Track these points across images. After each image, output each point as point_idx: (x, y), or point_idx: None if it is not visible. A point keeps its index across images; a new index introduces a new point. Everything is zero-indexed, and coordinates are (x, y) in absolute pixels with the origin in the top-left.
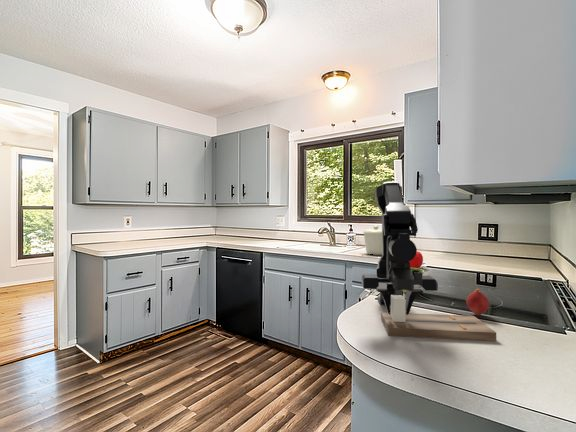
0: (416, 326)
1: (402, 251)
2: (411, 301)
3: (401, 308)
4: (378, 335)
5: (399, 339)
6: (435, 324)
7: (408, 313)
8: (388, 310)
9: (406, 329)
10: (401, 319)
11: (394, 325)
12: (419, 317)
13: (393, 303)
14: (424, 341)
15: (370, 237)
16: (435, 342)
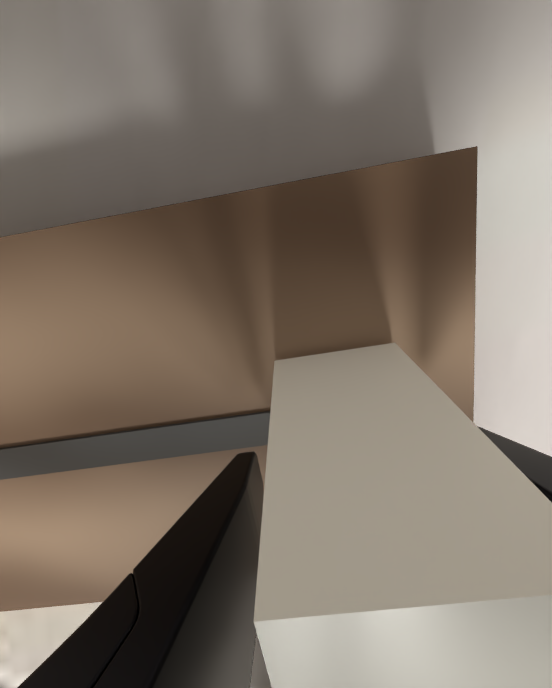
0: (170, 282)
1: None
2: (126, 609)
3: (333, 437)
4: (533, 140)
5: (344, 95)
6: (6, 389)
7: (233, 459)
8: (501, 440)
9: (273, 189)
10: (317, 362)
11: (396, 244)
12: (150, 520)
13: (526, 486)
14: (125, 121)
15: None
16: (36, 129)
